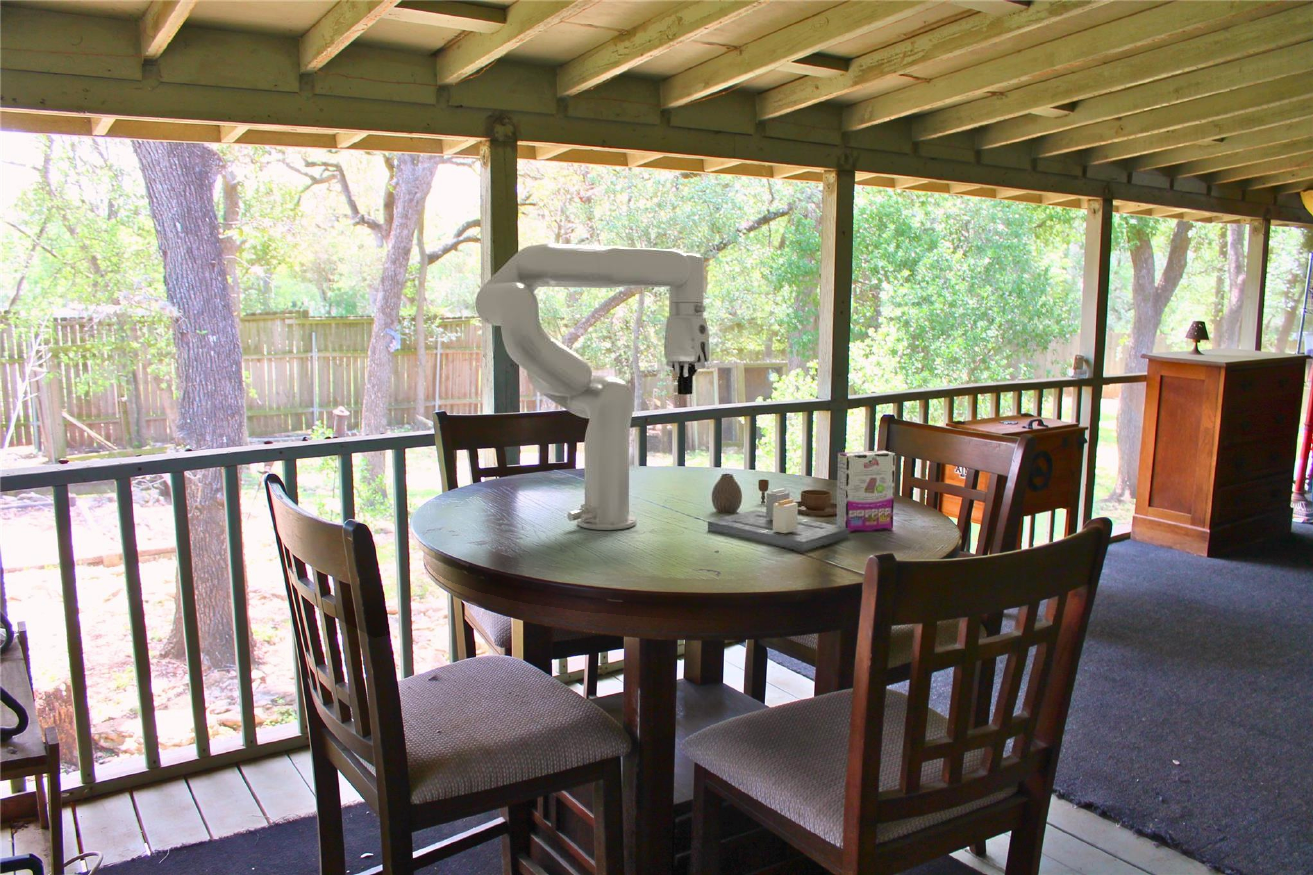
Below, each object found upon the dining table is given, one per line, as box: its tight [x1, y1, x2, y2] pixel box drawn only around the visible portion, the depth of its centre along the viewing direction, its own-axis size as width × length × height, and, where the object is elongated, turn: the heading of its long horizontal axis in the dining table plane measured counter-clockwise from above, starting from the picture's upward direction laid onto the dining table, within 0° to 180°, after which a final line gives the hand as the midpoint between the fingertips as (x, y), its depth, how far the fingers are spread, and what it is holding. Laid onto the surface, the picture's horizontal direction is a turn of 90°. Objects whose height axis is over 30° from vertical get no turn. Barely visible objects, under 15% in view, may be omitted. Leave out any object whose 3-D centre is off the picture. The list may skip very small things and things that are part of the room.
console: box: [707, 509, 850, 553], centre depth 187 cm, size 16×24×2 cm, turn 46°
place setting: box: [758, 479, 837, 517], centre depth 213 cm, size 18×20×6 cm
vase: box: [711, 473, 743, 515], centre depth 207 cm, size 7×7×9 cm
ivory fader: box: [773, 498, 799, 533], centre depth 180 cm, size 4×3×6 cm
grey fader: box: [765, 487, 791, 520], centre depth 191 cm, size 4×3×6 cm
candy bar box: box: [836, 450, 896, 533], centre depth 191 cm, size 11×5×16 cm, turn 105°
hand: (685, 394), depth 203 cm, fingers closed
